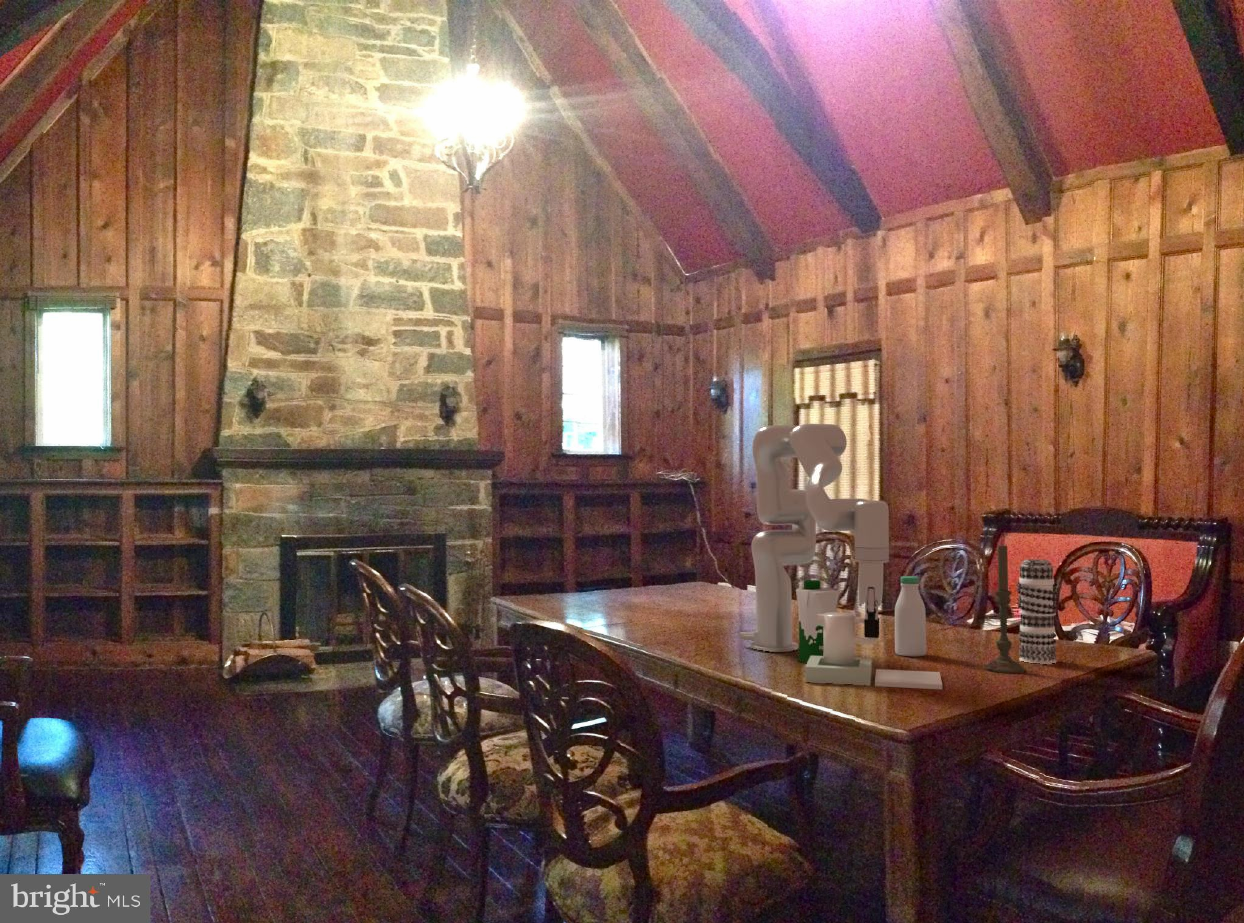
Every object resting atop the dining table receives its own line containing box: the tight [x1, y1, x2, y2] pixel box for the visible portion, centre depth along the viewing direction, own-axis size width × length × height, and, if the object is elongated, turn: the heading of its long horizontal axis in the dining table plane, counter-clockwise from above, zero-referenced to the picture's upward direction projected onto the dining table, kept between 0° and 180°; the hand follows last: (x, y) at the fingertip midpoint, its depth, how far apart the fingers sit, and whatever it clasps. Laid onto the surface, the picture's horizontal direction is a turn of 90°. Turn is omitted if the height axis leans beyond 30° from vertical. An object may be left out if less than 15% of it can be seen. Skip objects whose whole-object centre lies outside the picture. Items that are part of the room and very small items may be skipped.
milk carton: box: [795, 579, 840, 664], centre depth 236 cm, size 9×9×20 cm
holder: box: [804, 656, 873, 687], centre depth 218 cm, size 14×14×4 cm
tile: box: [874, 668, 943, 690], centre depth 213 cm, size 14×14×1 cm
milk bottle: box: [894, 575, 927, 657], centre depth 246 cm, size 8×8×20 cm
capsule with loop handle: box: [817, 611, 877, 664], centre depth 218 cm, size 13×7×10 cm, turn 74°
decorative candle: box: [1015, 558, 1058, 665], centre depth 236 cm, size 9×9×25 cm
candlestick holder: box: [983, 542, 1026, 674], centre depth 226 cm, size 9×9×30 cm
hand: (871, 635), depth 216 cm, fingers closed on capsule with loop handle
